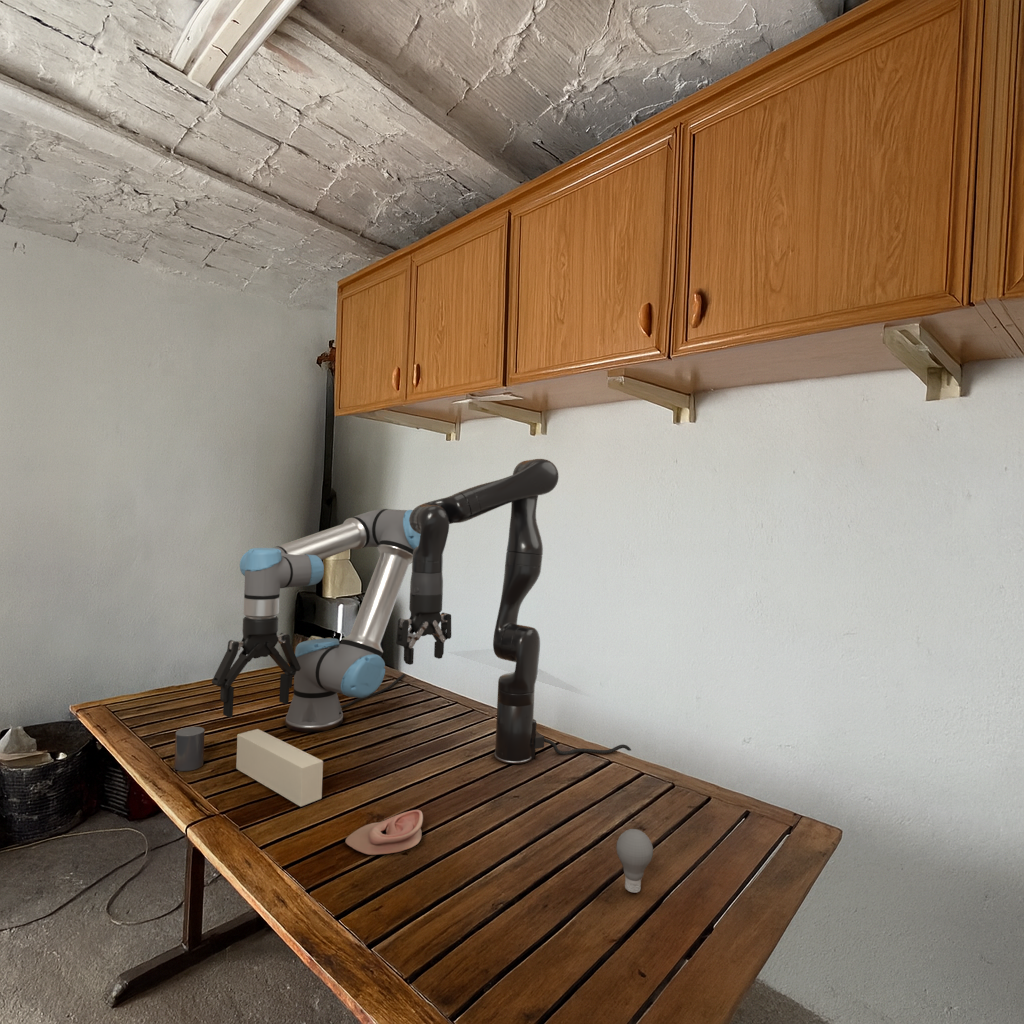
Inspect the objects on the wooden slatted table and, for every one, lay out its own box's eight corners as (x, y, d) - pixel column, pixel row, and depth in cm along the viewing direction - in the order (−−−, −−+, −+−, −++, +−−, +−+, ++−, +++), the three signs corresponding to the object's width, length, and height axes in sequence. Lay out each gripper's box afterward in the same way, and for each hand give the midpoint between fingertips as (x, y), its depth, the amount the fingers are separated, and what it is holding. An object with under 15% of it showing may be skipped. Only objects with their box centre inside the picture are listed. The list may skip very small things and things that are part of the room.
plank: (236, 768, 145) (237, 734, 145) (256, 762, 149) (257, 728, 149) (300, 806, 129) (302, 768, 129) (321, 798, 133) (323, 760, 133)
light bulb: (610, 879, 108) (613, 822, 108) (644, 879, 109) (647, 822, 109) (619, 902, 102) (622, 840, 102) (655, 901, 103) (658, 840, 103)
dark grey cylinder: (196, 758, 150) (197, 724, 150) (208, 765, 146) (209, 731, 146) (169, 765, 145) (170, 731, 145) (181, 773, 142) (182, 738, 142)
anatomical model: (338, 827, 114) (365, 799, 125) (337, 849, 114) (364, 818, 125) (408, 839, 111) (429, 808, 122) (407, 861, 111) (428, 828, 122)
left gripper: (300, 608, 156) (296, 694, 156) (197, 619, 137) (193, 717, 137) (318, 612, 152) (313, 701, 152) (214, 625, 132) (210, 726, 132)
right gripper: (439, 586, 154) (437, 653, 154) (391, 591, 144) (388, 662, 144) (460, 590, 149) (457, 659, 149) (411, 595, 138) (408, 669, 139)
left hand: (256, 709), depth 144 cm, fingers open, 13 cm apart
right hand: (423, 660), depth 147 cm, fingers open, 8 cm apart
